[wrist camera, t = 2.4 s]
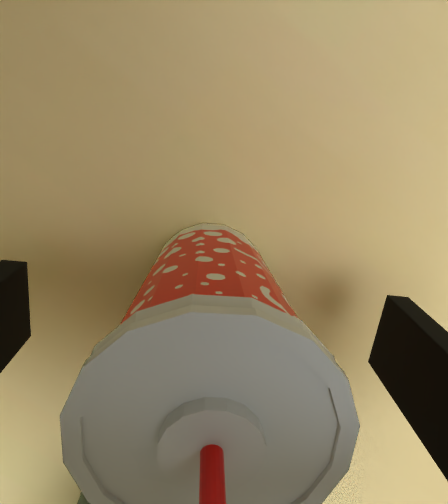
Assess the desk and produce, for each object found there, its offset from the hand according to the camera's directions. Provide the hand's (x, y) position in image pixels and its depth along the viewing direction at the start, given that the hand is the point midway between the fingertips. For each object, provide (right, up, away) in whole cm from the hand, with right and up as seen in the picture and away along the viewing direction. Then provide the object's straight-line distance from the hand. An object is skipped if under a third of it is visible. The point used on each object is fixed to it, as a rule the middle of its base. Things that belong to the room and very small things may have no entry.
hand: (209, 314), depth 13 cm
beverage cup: (0, +1, +3) cm, 4 cm away
